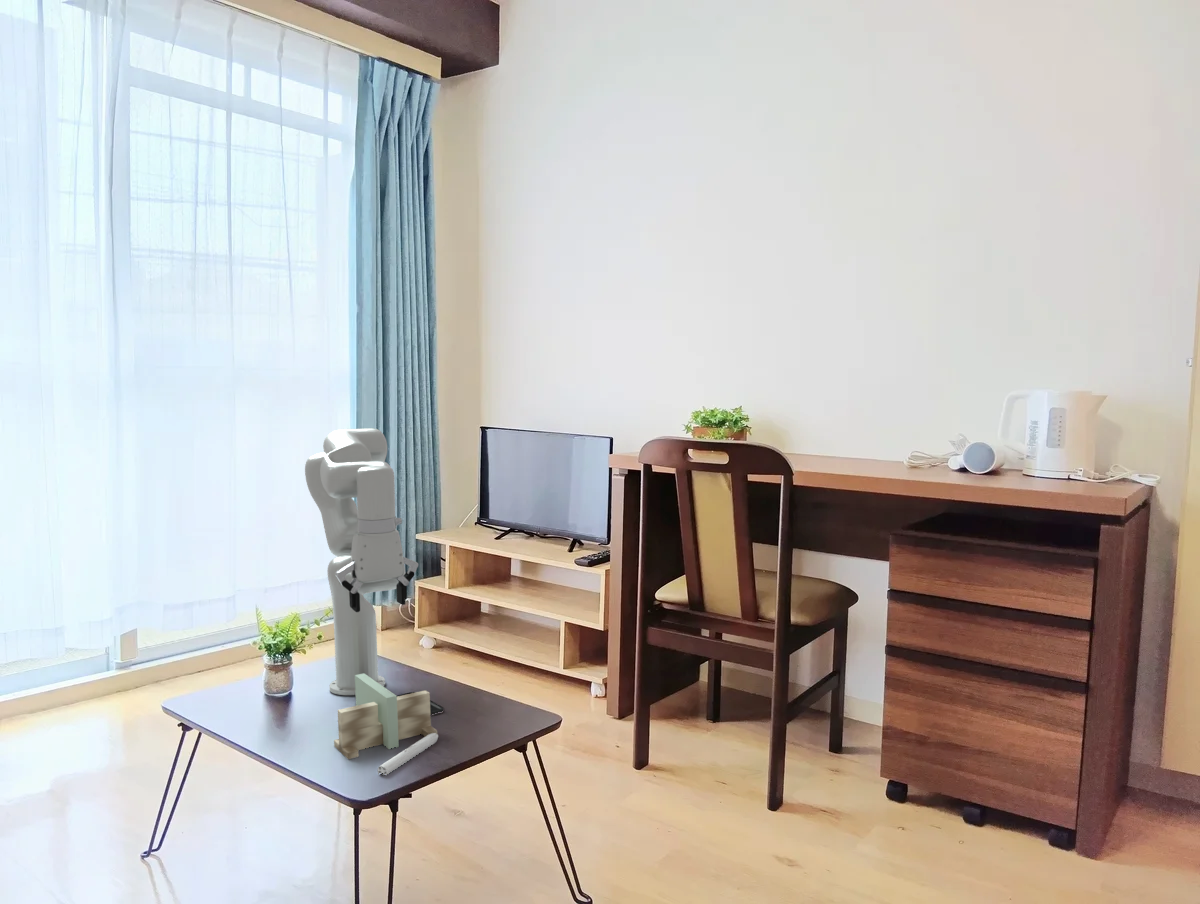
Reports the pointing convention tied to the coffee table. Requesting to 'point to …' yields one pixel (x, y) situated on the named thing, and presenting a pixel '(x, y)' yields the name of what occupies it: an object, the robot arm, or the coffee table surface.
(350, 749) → the slotted wooden stand
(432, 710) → the phone
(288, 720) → the coffee table surface
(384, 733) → the mint green slab
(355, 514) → the robot arm
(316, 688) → the coffee table surface
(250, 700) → the coffee table surface
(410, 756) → the marker
